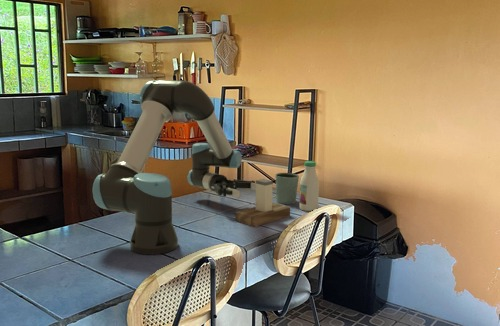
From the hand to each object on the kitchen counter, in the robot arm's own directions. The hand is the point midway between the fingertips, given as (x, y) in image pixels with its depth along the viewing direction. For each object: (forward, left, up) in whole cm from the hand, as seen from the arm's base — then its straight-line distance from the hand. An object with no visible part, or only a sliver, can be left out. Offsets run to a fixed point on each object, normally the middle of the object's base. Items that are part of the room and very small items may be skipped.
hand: (251, 191), depth 193 cm
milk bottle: (+21, +14, -10) cm, 27 cm away
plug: (+6, -4, -9) cm, 12 cm away
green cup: (+10, +23, -10) cm, 27 cm away
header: (+6, -4, -9) cm, 12 cm away
